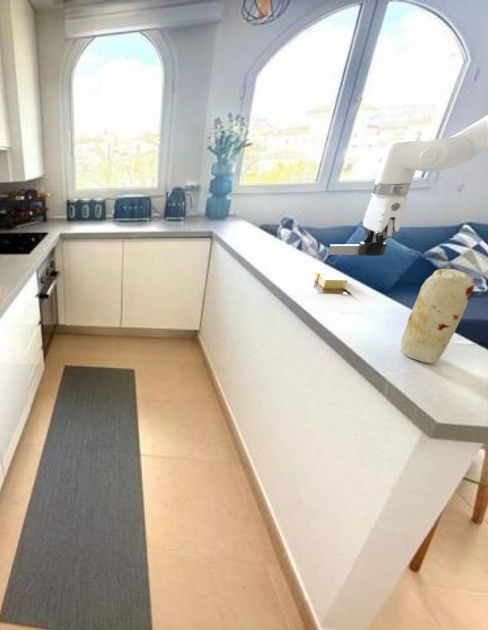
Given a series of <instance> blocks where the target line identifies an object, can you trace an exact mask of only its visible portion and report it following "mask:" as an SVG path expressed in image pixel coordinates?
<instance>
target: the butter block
mask: <svg viewBox="0 0 488 630" xmlns="http://www.w3.org/2000/svg"><path fill="white" fill-rule="evenodd" d="M347 283H348V279H347V278H345V277H344V276H343V275H342V274H339V275H320V276H319V280H318V284H319V285H321V286H322V287H323V288H332V289H346V287H347Z"/></svg>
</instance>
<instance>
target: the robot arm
mask: <svg viewBox="0 0 488 630" xmlns="http://www.w3.org/2000/svg"><path fill="white" fill-rule="evenodd" d="M486 152H488V114H487V115H485V116H484V117H483V118H481V119H480V120H477V121H476V122H475V123H473V124H471V125H469V126H467V127H465V128H464V129H462V131H459V132H458V133H456V134H454V135H452V136H449V137H441V138H434V139H428V140H427V139H426V140H420V139H408V140H407V139H405V140H396V141H391V142H389V143H388V144H387V146H386V147H385V150H384V153H383V156H382V160H381V163H380V165H379V170H378V173H377V175H376V179H375V182H374V186H373V190H372V193H371V198H370V200H369V203H368V206H367V208H366V210H365V213H364V217H363V221H362V226H363V229H364V232H365V234H364V240H363V242H370V243H369V246H368V250H367V253H366V255H368V256H369V257H371V256H372V257H374V256H375V257H379V256H378V255H380V252H381V249H382V246H383V243H386V240H387V239H390V238H392V237H393V233H395V234H396V233H398V232H399V231H400V229H401V226H402V222H403V219H404V215H405V211H406V208H407V200H408V194H409V191H410V188H411V185H412V182H413V179H414V177H415V174H416V171H419V172H429V173H430V172H431V173H432V172H436V171H437V172H439V171H442V170H447V169H452V168H455V167H459V166H461V165H462V164H464V163H466V162H469V161H470V160H472V159H474V158H476V157H479V156H480V155H482V154H484V153H486ZM368 256H367V257H368Z"/></svg>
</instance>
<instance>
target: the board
mask: <svg viewBox="0 0 488 630" xmlns="http://www.w3.org/2000/svg"><path fill="white" fill-rule="evenodd" d="M291 278H292V279H293V280H294V281H295V282H296V283H297V284H298V285H299V286H300V287H301V288H302V289H303V290H304V291H305V292H306V294H321V295H322V294H324V295H325V294H326V295H352V293H351V292H350V291H349V290H347V289H346V288H345V289H332V288H323V287H322V286H321V285H319V284H318V282H316V281H315V280H314V279H315V276H302V275H301V276H299V275H297V276H295V275H294V276H293V275H291Z"/></svg>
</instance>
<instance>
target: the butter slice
mask: <svg viewBox="0 0 488 630" xmlns="http://www.w3.org/2000/svg"><path fill="white" fill-rule="evenodd" d="M320 275H340V273H339V272H337V271H316V272H315V275H314V277H315V279H314V280H315V281H316V282H318V280H319V276H320Z"/></svg>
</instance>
